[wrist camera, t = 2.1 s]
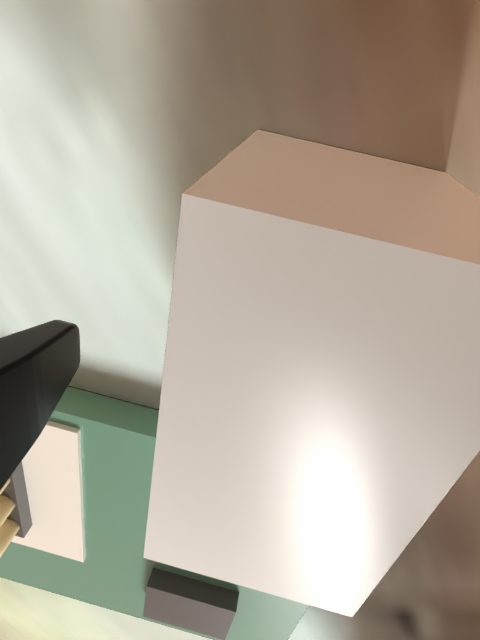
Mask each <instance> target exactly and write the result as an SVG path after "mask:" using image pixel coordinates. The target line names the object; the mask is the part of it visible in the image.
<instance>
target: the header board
mask: <svg viewBox="0 0 480 640" xmlns="http://www.w3.org/2000/svg"><path fill="white" fill-rule="evenodd" d="M158 415H159V410H155V409H151V408H148V407H144V406H140V405H136V404H133V403H129V402H125V401H121V400H118V399H114V398H110V397H106V396H103V395H99V394H95V393H91V392H88V391H84V390H80V389H76V388H73V387H69V386H68V387H67V388H66V390H65V392H64V394H63V396H62V397H61V399H60V401H59V403H58V405H57V406H56V408H55V410H54V412H53V413H52V415H51V417H50V419H49V421H48V422H47V424H46V426H45V427H44V429H43V431H42V432H41V434H40V436H39V437H38V439H37V440H36V441H35V443H34V444H33V446H32V447H31V449H30V450H29V451H28V453H27V454H26V456H25V457H24V458H23V460H22V461H21V463H20V464H19V465H18V467H17V468H16V470H15V471H14V472H13V474H12V475H11V477H10V478H9V479H8V481H7V482H6V484H5V485H4V486H3V488H2V489H1V490H0V577H1V578H5V579H8V580H12V581H15V582H18V583H22V584H25V585H29V586H32V587H35V588H39V589H42V590H46V591H49V592H52V593H56V594H59V595H63V596H66V597H69V598H73V599H76V600H80V601H83V602H87V603H90V604H93V605H97V606H100V607H104V608H107V609H110V610H114V611H117V612H121V613H124V614H127V615H131V616H134V617H138V618H141V619H144V620H148V621H151V622H155V623H158V624H162V625H165V626H168V627H172V628H175V629H179V630H182V631H185V632H189V633H192V634H196V635H199V636H202V637H206V638H209V639H213V640H288V639H289V637H290V635H291V634H292V632H293V630H294V629H295V627H296V625H297V624H298V622H299V621H300V619H301V617H302V616H303V614H304V612H305V611H306V609H307V607H308V606H309V605H307V604H303V603H300V602H296V601H293V600H289V599H286V598H282V597H279V596H275V595H272V594H268V593H265V592H261V591H258V590H254V589H251V588H247V587H244V586H240V585H237V584H233V583H230V582H226V581H223V580H219V579H216V578H212V577H209V576H205V575H202V574H198V573H195V572H191V571H188V570H184V569H181V568H177V567H174V566H170V565H167V564H163V563H160V562H156V561H153V560H149V559H146V558H143V556H144V547H145V537H146V528H147V519H148V509H149V500H150V490H151V481H152V472H153V462H154V453H155V443H156V434H157V425H158Z"/></svg>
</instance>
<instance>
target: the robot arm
mask: <svg viewBox="0 0 480 640" xmlns="http://www.w3.org/2000/svg"><path fill="white" fill-rule="evenodd" d="M79 363H80V336H79V328H78V326H77V325H75V324H73V323H69V322H65V321H62V320H53V321H50V322H47V323H44V324H41V325H38V326H35V327H32V328H29V329H26V330H23V331H20V332H17V333H14V334H11V335H8V336H5V337H2V338H0V490H1V489H2V488H3V486H4V485H5V484H6V482H7V481H8V479H9V478H10V477H11V475H12V474H13V472H14V471H15V470H16V468H17V467H18V465H19V464H20V463H21V461H22V460H23V458H24V457H25V456H26V454H27V453H28V451H29V450H30V449H31V447H32V446H33V444H34V443H35V441H36V440H37V439H38V437H39V436H40V434H41V432H42V431H43V429H44V427H45V426H46V424H47V422H48V421H49V419H50V417H51V415H52V413H53V412H54V410H55V408H56V406H57V405H58V403H59V401H60V399H61V397H62V396H63V394H64V392H65V390H66V388H67V387H68V385H69V383H70V381H71V380H72V378H73V376H74V374H75V372H76V371H77V369H78V366H79Z"/></svg>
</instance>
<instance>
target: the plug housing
mask: <svg viewBox="0 0 480 640" xmlns="http://www.w3.org/2000/svg"><path fill="white" fill-rule="evenodd" d="M479 451H480V199H479V198H478V197H477V196H476V195H474V194H473V193H472V192H471V191H469V190H468V189H467V188H465V187H464V186H463V185H462V184H460V183H459V182H458V181H457V180H455V179H454V178H453V177H452V176H450V175H449V174H448V173H446V172H441V171H437V170H433V169H428V168H424V167H420V166H415V165H411V164H407V163H402V162H398V161H394V160H389V159H385V158H380V157H376V156H372V155H367V154H363V153H359V152H354V151H350V150H346V149H341V148H337V147H332V146H328V145H324V144H319V143H315V142H311V141H306V140H302V139H298V138H293V137H289V136H284V135H280V134H276V133H271V132H267V131H263V130H256V131H255V132H254V133H253V134H252V135H251V136H249V137H248V138H247V139H246V140H245V141H243V142H242V143H241V144H240V145H239V146H238V147H236V148H235V149H234V150H233V151H232V152H230V153H229V154H228V155H227V156H226V157H225V158H223V159H222V160H221V161H220V162H219V163H217V164H216V165H215V166H214V167H213V168H212V169H210V170H209V171H208V172H207V173H206V174H204V175H203V176H202V177H201V178H200V179H199V180H197V181H196V182H195V183H194V184H193V185H192V186H190V187H189V188H188V189H187V190H186V191H184V192H183V193H182V199H181V209H180V218H179V228H178V237H177V246H176V256H175V265H174V274H173V284H172V293H171V303H170V312H169V321H168V331H167V340H166V350H165V359H164V368H163V378H162V387H161V397H160V406H159V415H158V425H157V434H156V443H155V453H154V462H153V472H152V481H151V490H150V500H149V509H148V519H147V528H146V537H145V547H144V556H143V558H146V559H149V560H153V561H156V562H160V563H163V564H167V565H170V566H174V567H177V568H181V569H184V570H188V571H191V572H195V573H198V574H202V575H205V576H209V577H212V578H216V579H219V580H223V581H226V582H230V583H233V584H237V585H240V586H244V587H247V588H251V589H254V590H258V591H261V592H265V593H268V594H272V595H275V596H279V597H282V598H286V599H289V600H293V601H296V602H300V603H303V604H307V605H310V606H314V607H317V608H321V609H324V610H328V611H331V612H335V613H338V614H342V615H345V616H349V617H353V616H354V614H355V613H356V612H357V610H358V609H359V608H360V607H361V605H362V604H363V603H364V601H365V600H366V599H367V597H368V596H369V595H370V593H371V592H372V591H373V590H374V588H375V587H376V586H377V584H378V583H379V582H380V580H381V579H382V578H383V576H384V575H385V574H386V572H387V571H388V570H389V569H390V567H391V566H392V565H393V563H394V562H395V561H396V559H397V558H398V557H399V555H400V554H401V553H402V552H403V550H404V549H405V548H406V546H407V545H408V544H409V542H410V541H411V540H412V538H413V537H414V536H415V535H416V533H417V532H418V531H419V529H420V528H421V527H422V525H423V524H424V523H425V521H426V520H427V519H428V518H429V516H430V515H431V514H432V512H433V511H434V510H435V508H436V507H437V506H438V504H439V503H440V502H441V501H442V499H443V498H444V497H445V495H446V494H447V493H448V491H449V490H450V489H451V487H452V486H453V485H454V484H455V482H456V481H457V480H458V478H459V477H460V476H461V474H462V473H463V472H464V470H465V469H466V468H467V467H468V465H469V464H470V463H471V461H472V460H473V459H474V457H475V456H476V455H477V453H478V452H479Z"/></svg>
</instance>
